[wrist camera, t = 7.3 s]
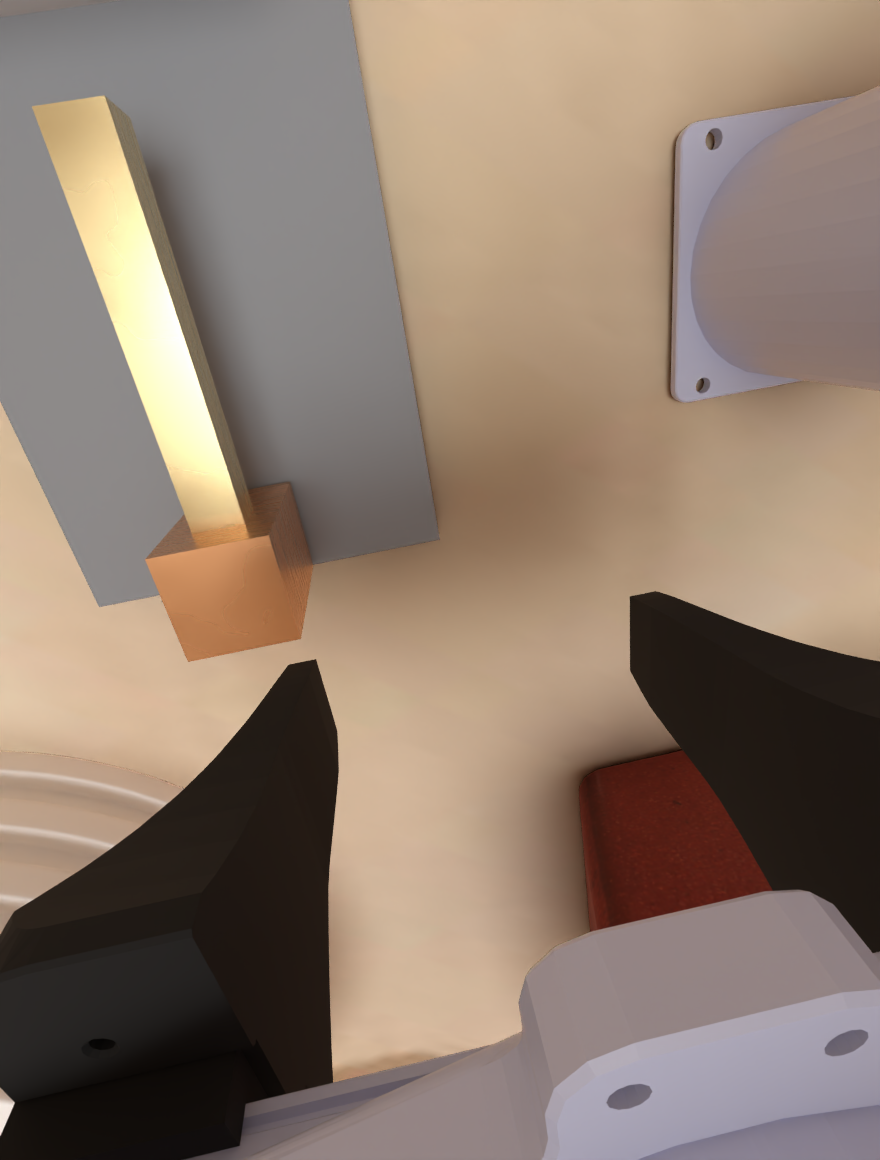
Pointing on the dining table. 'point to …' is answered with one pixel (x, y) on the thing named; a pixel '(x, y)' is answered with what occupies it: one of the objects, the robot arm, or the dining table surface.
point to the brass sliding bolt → (179, 402)
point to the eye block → (210, 274)
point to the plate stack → (63, 824)
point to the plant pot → (659, 842)
